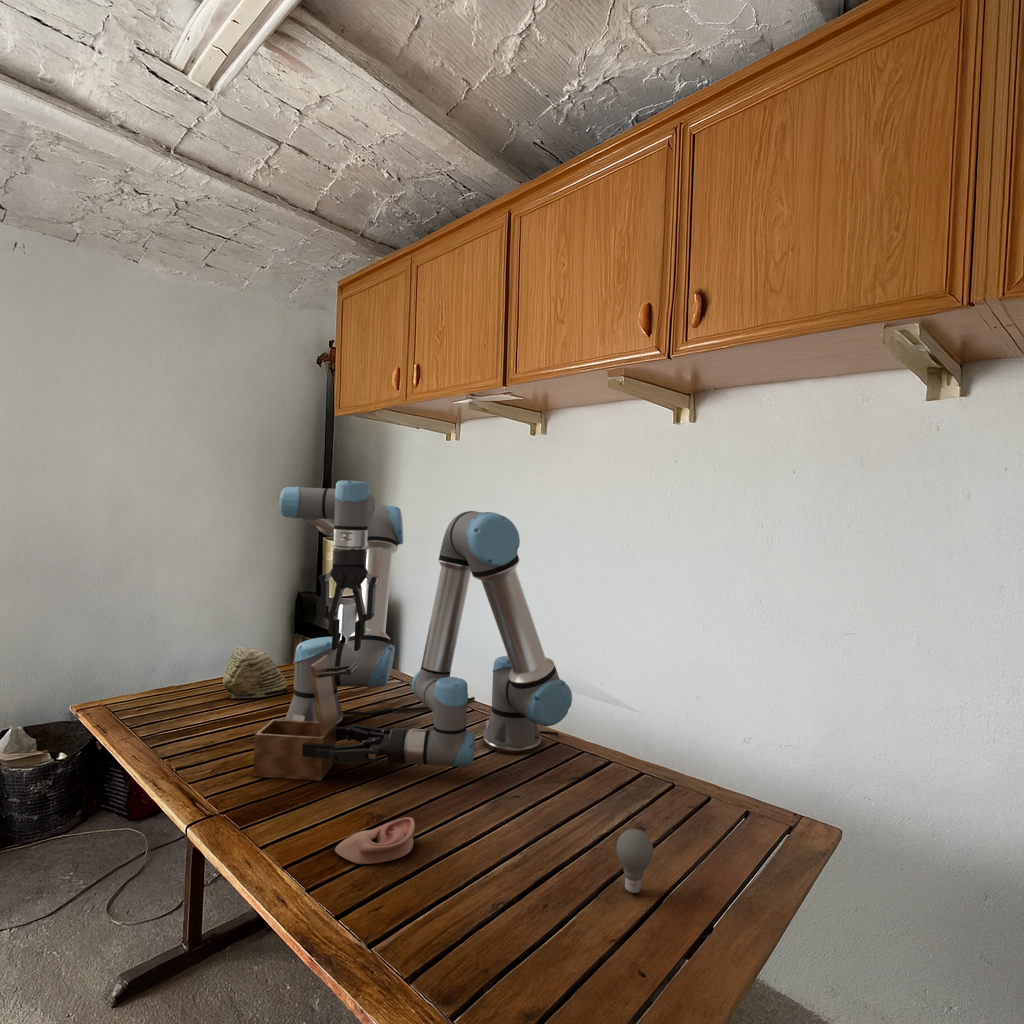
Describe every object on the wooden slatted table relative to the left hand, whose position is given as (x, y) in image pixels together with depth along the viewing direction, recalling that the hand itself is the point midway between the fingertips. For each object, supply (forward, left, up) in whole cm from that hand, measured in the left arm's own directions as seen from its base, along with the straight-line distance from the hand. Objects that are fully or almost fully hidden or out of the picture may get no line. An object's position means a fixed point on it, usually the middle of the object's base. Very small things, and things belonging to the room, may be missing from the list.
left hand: (346, 648), depth 146 cm
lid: (+3, -4, -11) cm, 12 cm away
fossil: (-15, -65, -29) cm, 72 cm away
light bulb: (-5, +72, -29) cm, 78 cm away
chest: (+7, -8, -28) cm, 30 cm away
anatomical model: (+15, +31, -29) cm, 45 cm away
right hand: (+5, -6, -22) cm, 23 cm away
